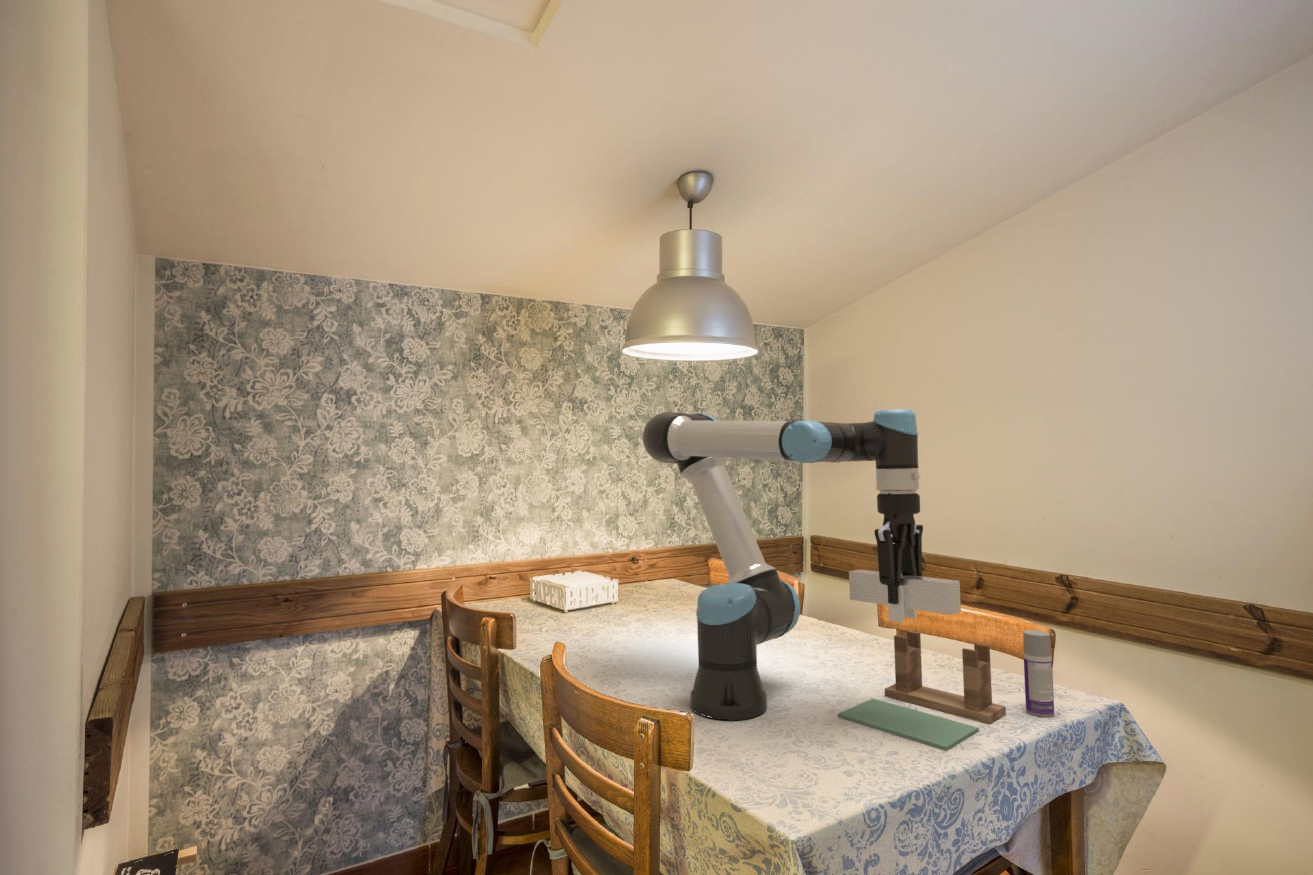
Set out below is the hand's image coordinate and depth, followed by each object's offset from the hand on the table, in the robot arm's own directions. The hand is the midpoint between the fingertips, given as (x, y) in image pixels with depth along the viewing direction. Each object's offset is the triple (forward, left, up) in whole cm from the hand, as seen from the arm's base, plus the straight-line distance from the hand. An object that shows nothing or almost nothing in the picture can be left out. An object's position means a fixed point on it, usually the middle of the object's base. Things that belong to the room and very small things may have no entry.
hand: (902, 619), depth 124 cm
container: (+23, -14, -19) cm, 33 cm away
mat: (0, 0, -19) cm, 19 cm away
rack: (+14, 0, -19) cm, 24 cm away
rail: (0, 0, +3) cm, 3 cm away
